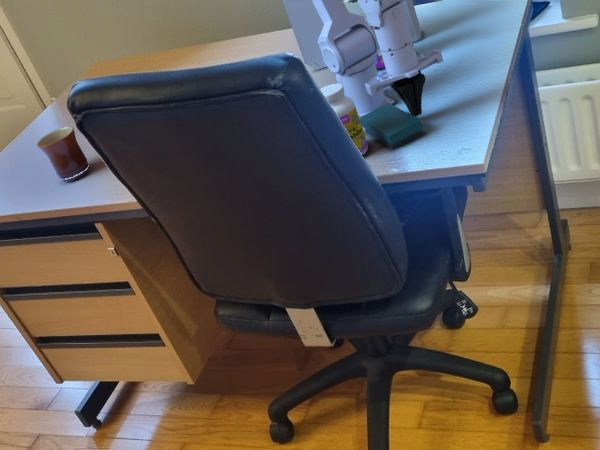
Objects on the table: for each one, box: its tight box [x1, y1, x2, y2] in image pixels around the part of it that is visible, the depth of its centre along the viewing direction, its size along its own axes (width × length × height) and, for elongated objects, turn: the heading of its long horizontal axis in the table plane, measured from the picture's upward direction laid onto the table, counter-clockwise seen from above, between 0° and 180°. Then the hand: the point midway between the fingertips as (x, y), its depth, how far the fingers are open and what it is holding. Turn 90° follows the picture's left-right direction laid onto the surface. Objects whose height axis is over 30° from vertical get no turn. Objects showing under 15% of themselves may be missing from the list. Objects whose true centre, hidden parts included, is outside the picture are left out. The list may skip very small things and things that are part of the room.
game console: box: [281, 0, 422, 70], centre depth 176 cm, size 6×27×20 cm, turn 83°
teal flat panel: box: [359, 103, 424, 150], centre depth 139 cm, size 12×6×3 cm, turn 22°
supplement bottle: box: [319, 83, 369, 156], centre depth 136 cm, size 7×7×13 cm
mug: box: [36, 126, 90, 183], centre depth 176 cm, size 12×9×10 cm
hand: (416, 113), depth 140 cm, fingers closed
